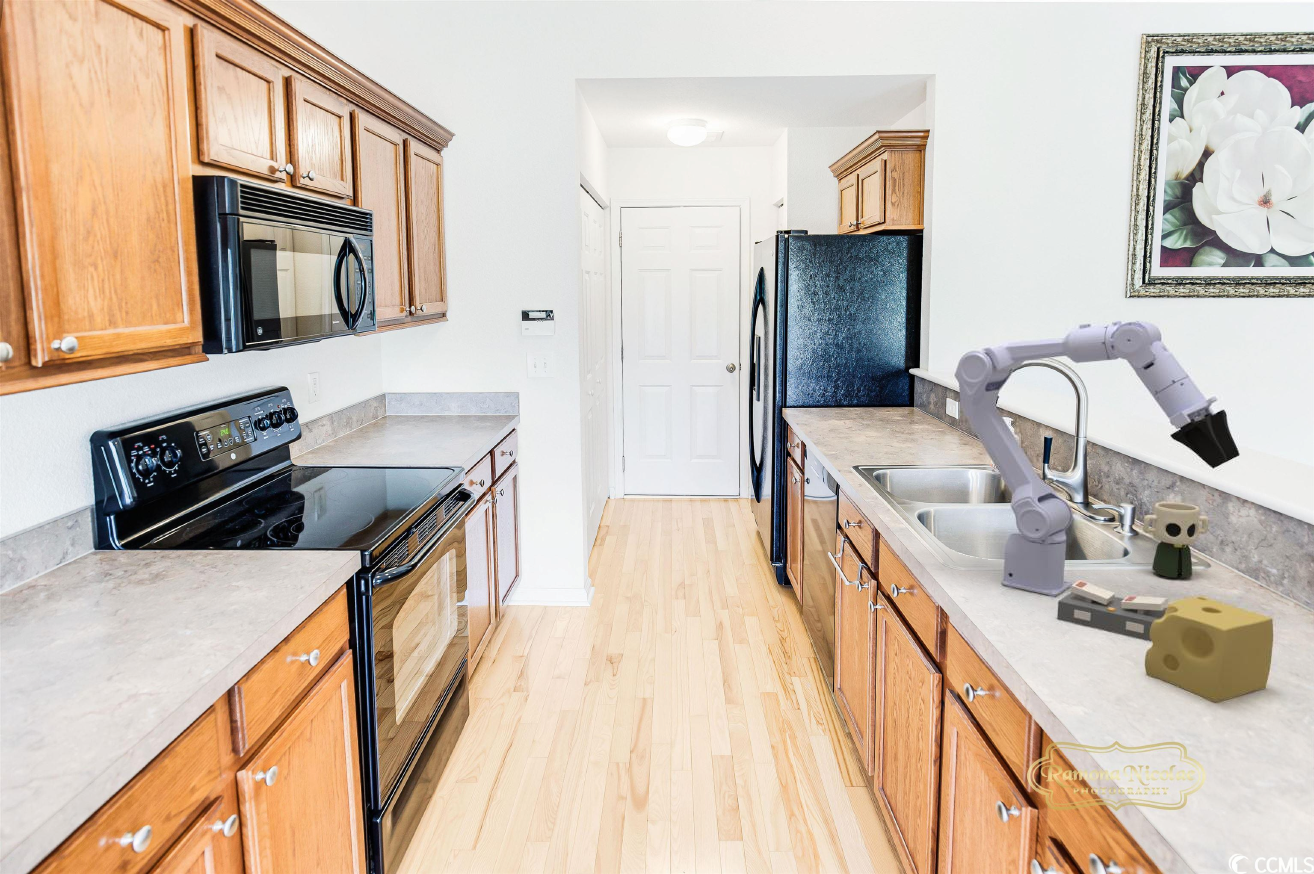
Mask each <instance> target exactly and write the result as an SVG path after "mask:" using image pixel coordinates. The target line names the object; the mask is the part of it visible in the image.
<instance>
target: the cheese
mask: <svg viewBox="0 0 1314 874" xmlns="http://www.w3.org/2000/svg"><path fill="white" fill-rule="evenodd" d="M1166 608H1167V609H1166V612H1165V615H1164V616H1163V617H1162V618H1161V619H1159V620H1155V621H1154V622H1153V623H1152V625H1151V628H1150V639H1151V640H1152V641H1151V643H1152V645H1151V647H1149V648H1148V649H1147V651H1146V653H1145V656H1144V657H1145V658H1144V668H1145V673H1146V675H1148V676H1150V677H1154V678H1155V679H1159V680H1161V681H1163V682H1167V683H1169V684H1171V685H1173V686H1177V687H1178V688H1181V689H1183V690H1186V691H1188V692H1190V693H1191V694H1194V695H1197V696H1199V697H1201V698H1203V699H1205V700H1208V701H1210V702H1213V703H1215V702H1216V703H1221V702H1223V701H1226V700H1230V699H1234V698H1236V697H1241V696H1243V695H1246V694H1249V693H1251V692H1255V691H1259V690H1262V689H1266V688H1267V683H1268V679H1269V675H1270V670H1271V664H1272V655H1273V648H1274V647H1273V644H1274V643H1273V642H1274V624H1273V623H1274V622H1273V621H1274V620H1273V618H1272V617H1271V616H1266V615H1263V614H1261V613H1257V612H1254V611H1251V610H1248V609H1244V608H1241V607H1236V606H1233V605H1230V604H1226V603H1223V602H1220V601H1217V600H1215V599H1212V598H1209V597H1207V596H1203V595H1199V596H1193V597H1184V598H1182V599H1177V600H1174V601H1172V602H1170V603H1168V605H1167V606H1166Z"/></svg>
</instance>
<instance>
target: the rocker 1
mask: <svg viewBox="0 0 1314 874" xmlns="http://www.w3.org/2000/svg"><path fill="white" fill-rule="evenodd" d="M1069 591H1070V593H1071V592H1073V593H1076V594H1079V595H1081V596H1084V597H1087V598H1089V599H1092V600H1095V601H1097V602H1100V603H1103V604H1105V605H1106V604H1108V603H1109V602H1110V601H1112V600H1113V599H1114V597H1116V593H1115V592H1114V591H1111V590H1107V589H1105V588H1102V587H1100V586H1097V585H1094V584H1092V583H1089V582H1086V581H1084V580H1077V581H1076V582H1074V583H1072V586H1070V590H1069Z"/></svg>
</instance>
